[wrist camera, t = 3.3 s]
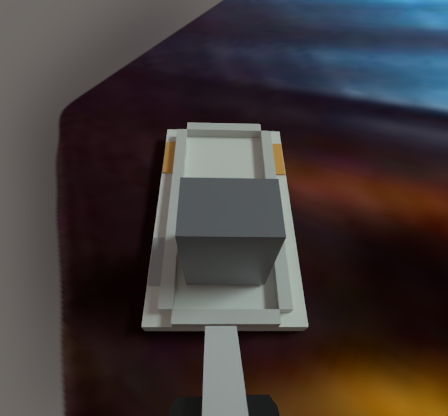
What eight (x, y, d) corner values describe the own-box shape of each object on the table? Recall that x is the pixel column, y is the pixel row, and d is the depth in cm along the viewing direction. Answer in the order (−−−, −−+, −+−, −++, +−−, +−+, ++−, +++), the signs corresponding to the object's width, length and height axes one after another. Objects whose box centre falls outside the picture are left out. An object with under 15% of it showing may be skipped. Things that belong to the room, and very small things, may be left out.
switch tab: (264, 284, 23) (286, 237, 16) (185, 284, 23) (174, 236, 16) (260, 237, 25) (278, 178, 18) (188, 237, 25) (180, 177, 18)
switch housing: (303, 331, 23) (312, 324, 21) (145, 331, 23) (138, 324, 21) (276, 141, 34) (280, 124, 32) (169, 139, 33) (166, 122, 31)
